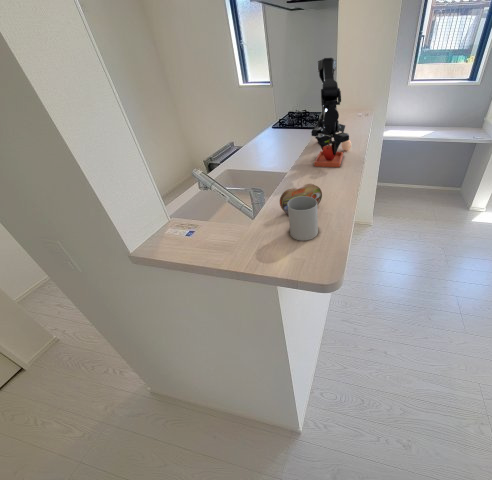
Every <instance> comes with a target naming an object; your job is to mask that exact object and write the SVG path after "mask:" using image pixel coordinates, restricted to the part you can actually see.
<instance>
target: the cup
mask: <svg viewBox="0 0 492 480" xmlns="http://www.w3.org/2000/svg"><path fill="white" fill-rule="evenodd" d="M318 212H319V211H318V205H317V201H316V200H315V199H314V198H312V197H308V196H300V197H295V198H293V199H291V200H289V202H288V214H287V215H288V223H289V233H290V237H291V238H293V239H294V240H297V241H304V242H305V241H310V240H313V239H314V238H316V237H317V235H318V233H319V216H318V214H319V213H318Z"/></svg>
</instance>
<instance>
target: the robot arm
mask: <svg viewBox="0 0 492 480" xmlns="http://www.w3.org/2000/svg"><path fill="white" fill-rule="evenodd" d="M316 66H317V67H316V68H317V72H318V77H319V79H320V80H321V89H320V104H321V105H320V106H321V113H320V114H319V116H318V120H317V127H316V128H312V129H311V131H310V135H311V137H314V138H315V139H316V141H317V143H318V144H319V146H320V148H321V151H323V147H324V146H327V145H328V142H327V143H325V141H328V140H330V141H329V144H330V145H332V150H333V155H336V152H338V150H339V147H340V145H341V144H342V142H345V141H348V140H350V134H349V133H348V132H345V129H346V125H345V124H342V123H339V118H340V114H339V111H338V109H337V106H340V105H341V102H342V90H341V89H340V88H339V85H338V81H336V80H335V71H336V69H337V60H336V59H334V58H333V57H323V58H322V59H320V60H318V61H317V65H316Z"/></svg>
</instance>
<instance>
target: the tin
mask: <svg viewBox="0 0 492 480" xmlns="http://www.w3.org/2000/svg"><path fill="white" fill-rule="evenodd" d="M300 196H308V197H312V198H314V199H315V200H316V201H317V206H319V204H320V203H321V201H322V197H323V192H322V189H321V188H320V187H319V186H318V185H316V184H313V183H306V184H303V185H300V186H299V185H298V186H296V187H293V188H288V189H286V190H285V191H283V192H282V194H281V195H280V196H279V197H280V198H279V207H280V208H281V210H282V211H283V212H284V214H286V215H289V214H288V202H289V200H291V199H293V198H295V197H300Z"/></svg>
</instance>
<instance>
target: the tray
mask: <svg viewBox="0 0 492 480" xmlns="http://www.w3.org/2000/svg"><path fill="white" fill-rule="evenodd" d="M343 157H344V151H337V153H336V155H335V157H334V159H332V160H326V159H325V157H324V155H323V150H320V151H319V153H318V154H317V156H316V158H315V160H314V162H313V163H314V167H318V168H319V167H324V168H340V167H341V164H342V161H343V159H344V158H343Z"/></svg>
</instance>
